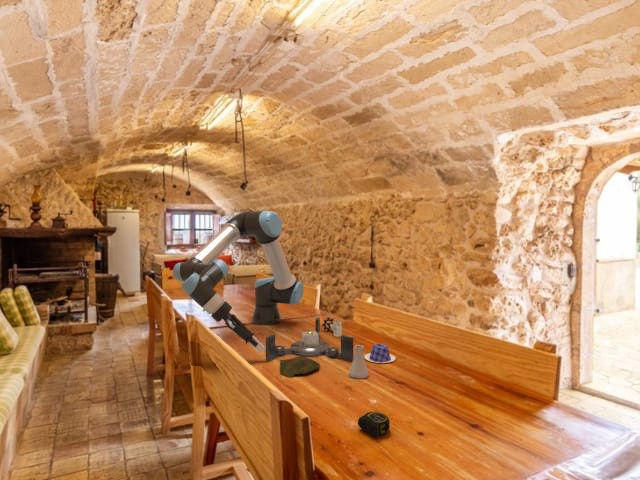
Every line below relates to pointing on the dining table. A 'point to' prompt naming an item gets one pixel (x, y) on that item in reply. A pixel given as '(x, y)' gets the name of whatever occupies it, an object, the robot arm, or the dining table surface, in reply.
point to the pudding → (380, 354)
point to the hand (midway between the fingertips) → (262, 350)
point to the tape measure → (374, 423)
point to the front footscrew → (273, 349)
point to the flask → (358, 364)
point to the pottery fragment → (297, 366)
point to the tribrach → (321, 345)
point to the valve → (333, 327)
